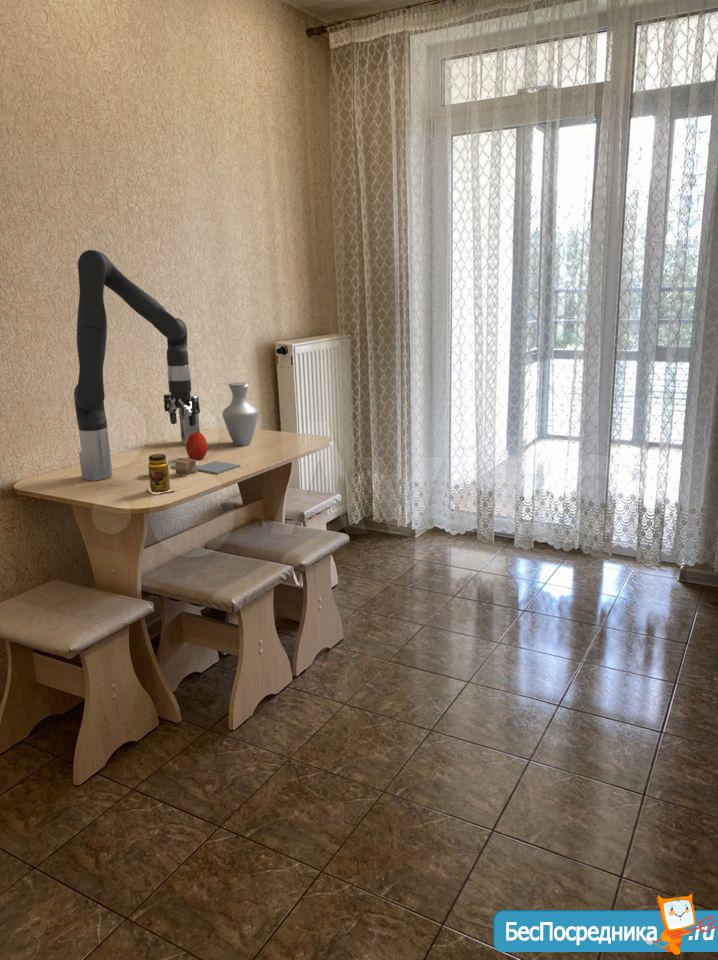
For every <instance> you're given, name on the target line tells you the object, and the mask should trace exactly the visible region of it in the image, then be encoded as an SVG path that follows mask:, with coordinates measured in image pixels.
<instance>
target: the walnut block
mask: <svg viewBox="0 0 718 960" xmlns="http://www.w3.org/2000/svg"><path fill="white" fill-rule="evenodd" d="M196 460H197V459H196ZM196 460H194V459H191V458H187V457H184V458H181V459H178V460H175V461H174V462H175V466H176V468H175V475H176V474H180V475H185V476H187V475H190V474H193V475H195V474H194V473H196V474H197V473H198V471H197V468H196ZM180 475H179V476H180ZM185 476H184V477H185ZM190 476H191V475H190ZM187 477H188V476H187Z"/></svg>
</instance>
